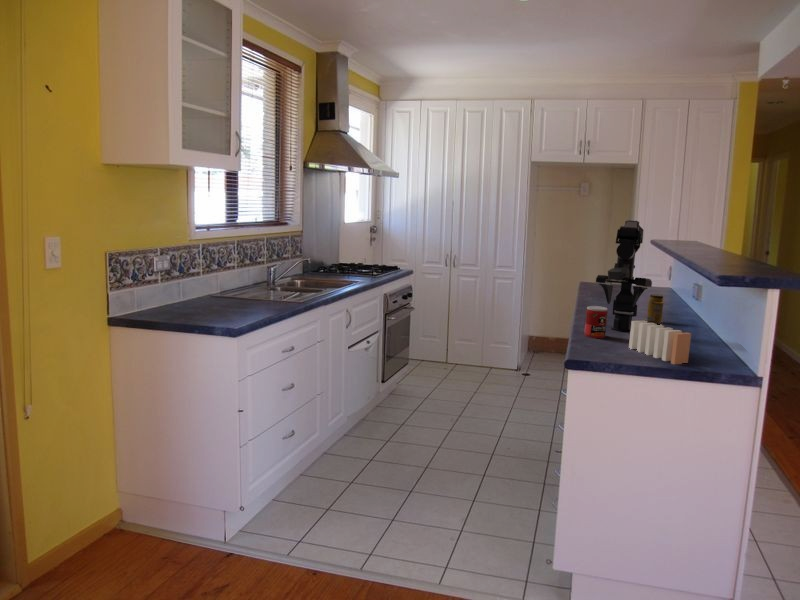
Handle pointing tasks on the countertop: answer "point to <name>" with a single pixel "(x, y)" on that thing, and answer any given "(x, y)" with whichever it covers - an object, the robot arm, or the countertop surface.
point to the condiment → (655, 308)
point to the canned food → (596, 321)
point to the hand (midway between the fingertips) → (620, 305)
